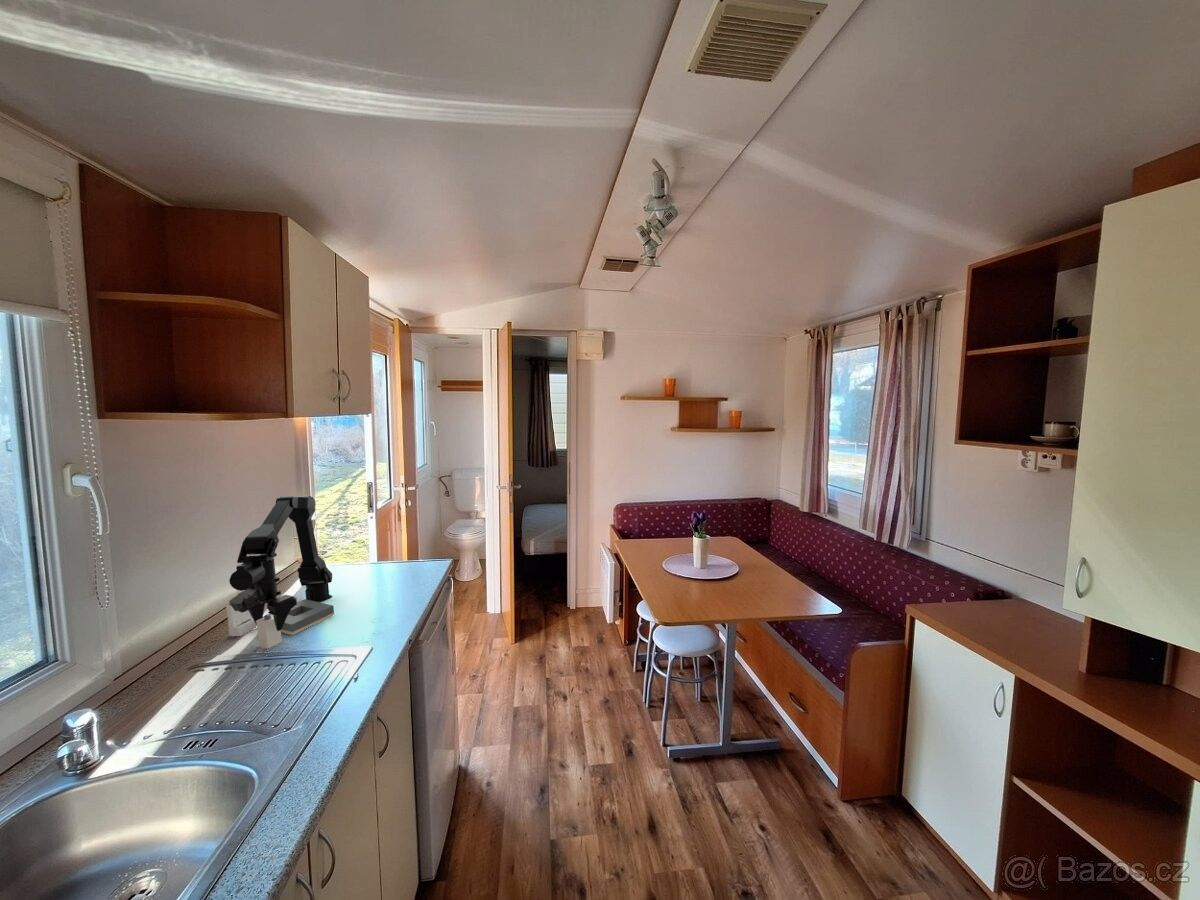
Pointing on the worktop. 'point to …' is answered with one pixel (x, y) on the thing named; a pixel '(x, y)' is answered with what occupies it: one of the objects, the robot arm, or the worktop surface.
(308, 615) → the socket
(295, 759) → the worktop surface
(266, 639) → the plug
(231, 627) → the white wedge bracket
